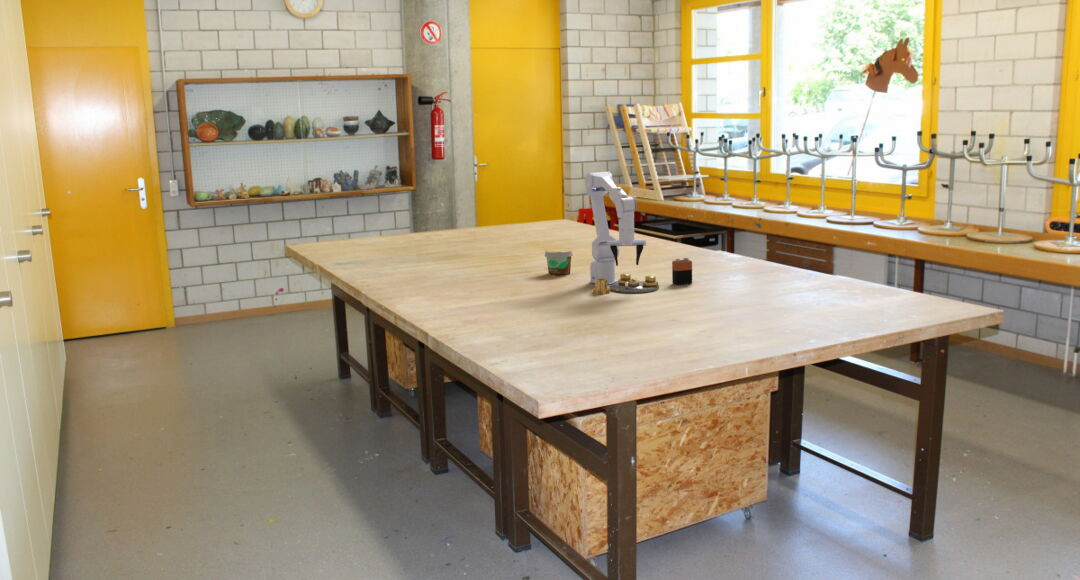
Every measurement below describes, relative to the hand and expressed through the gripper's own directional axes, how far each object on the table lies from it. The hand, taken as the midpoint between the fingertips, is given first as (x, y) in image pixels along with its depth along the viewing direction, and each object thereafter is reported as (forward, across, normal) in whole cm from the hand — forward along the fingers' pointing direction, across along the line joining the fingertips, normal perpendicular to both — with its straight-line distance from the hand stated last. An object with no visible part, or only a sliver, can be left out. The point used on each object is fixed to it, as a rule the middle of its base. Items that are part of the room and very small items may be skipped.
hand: (627, 264), depth 339 cm
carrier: (+10, +3, +4) cm, 11 cm away
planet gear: (+10, -10, -2) cm, 14 cm away
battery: (+10, +22, +10) cm, 26 cm away
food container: (+10, -28, +36) cm, 47 cm away
